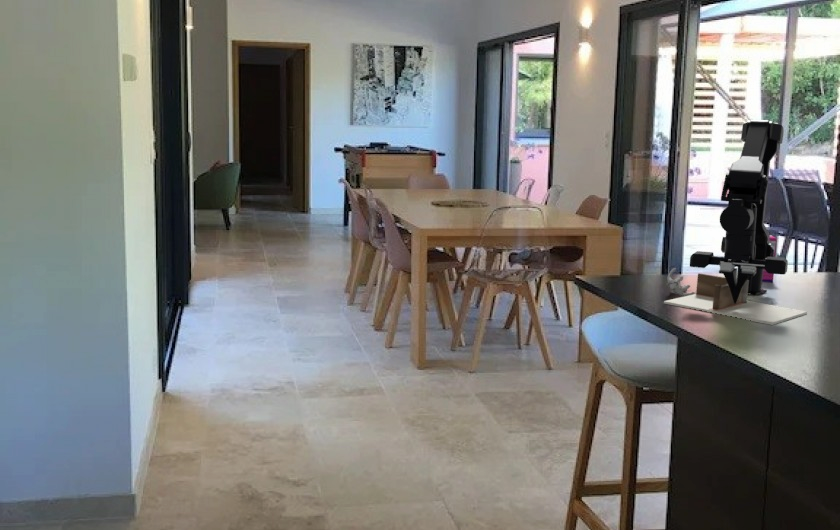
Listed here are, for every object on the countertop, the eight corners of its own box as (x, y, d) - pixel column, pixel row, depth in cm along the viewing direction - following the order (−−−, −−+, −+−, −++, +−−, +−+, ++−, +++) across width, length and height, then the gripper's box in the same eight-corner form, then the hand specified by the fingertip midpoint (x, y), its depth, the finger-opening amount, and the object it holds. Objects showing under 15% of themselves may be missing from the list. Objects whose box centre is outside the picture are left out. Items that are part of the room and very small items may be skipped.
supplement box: (744, 277, 229) (748, 233, 227) (767, 278, 228) (772, 235, 226) (749, 281, 223) (754, 236, 221) (773, 282, 222) (778, 238, 220)
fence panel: (736, 301, 192) (739, 278, 191) (742, 302, 191) (744, 279, 190) (711, 308, 183) (713, 285, 182) (716, 309, 182) (719, 286, 182)
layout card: (701, 294, 202) (702, 292, 202) (806, 314, 186) (807, 311, 186) (663, 303, 191) (664, 300, 190) (772, 325, 174) (772, 322, 174)
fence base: (699, 293, 201) (701, 272, 200) (748, 302, 193) (750, 280, 192) (694, 294, 199) (696, 272, 199) (744, 303, 191) (746, 281, 190)
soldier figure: (698, 296, 206) (698, 288, 195) (681, 308, 207) (680, 302, 196) (677, 270, 209) (675, 261, 197) (660, 282, 209) (658, 274, 198)
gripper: (792, 228, 184) (786, 301, 187) (700, 223, 193) (696, 292, 195) (788, 233, 174) (781, 310, 177) (691, 227, 183) (686, 301, 185)
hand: (735, 303), depth 184 cm, fingers closed
